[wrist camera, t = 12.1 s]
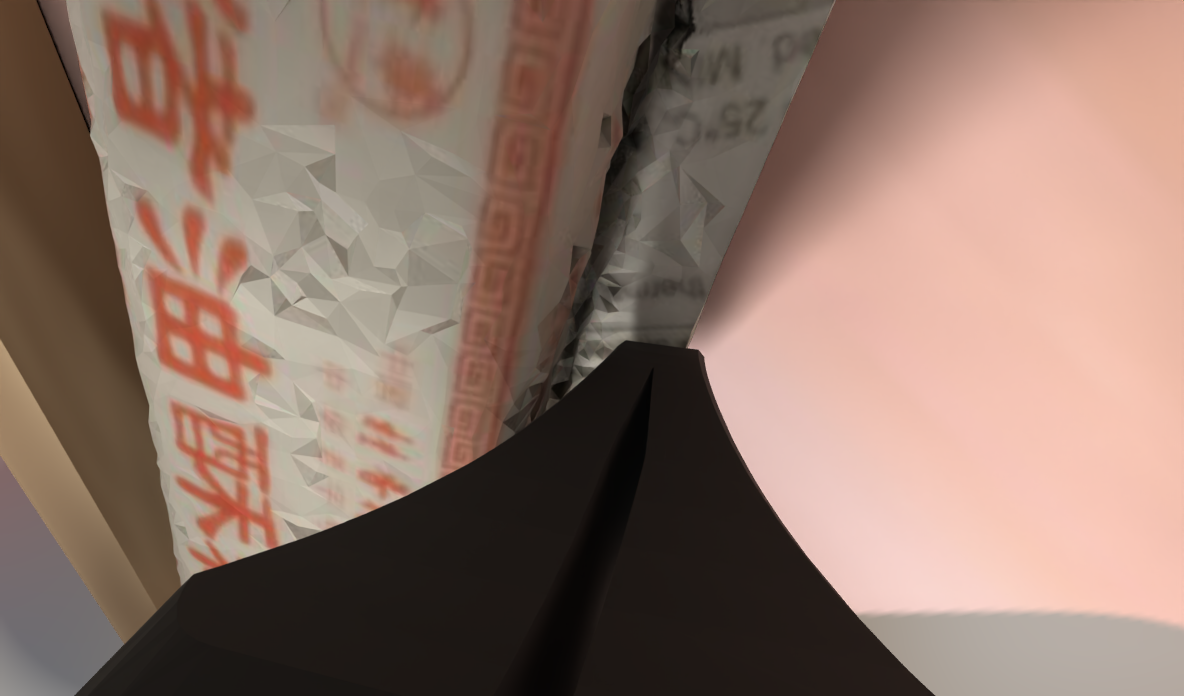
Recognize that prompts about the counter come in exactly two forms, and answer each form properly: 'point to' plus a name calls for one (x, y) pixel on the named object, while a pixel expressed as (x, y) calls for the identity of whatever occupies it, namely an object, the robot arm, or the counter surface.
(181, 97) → the packaged product
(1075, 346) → the counter surface
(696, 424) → the robot arm
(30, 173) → the rail
